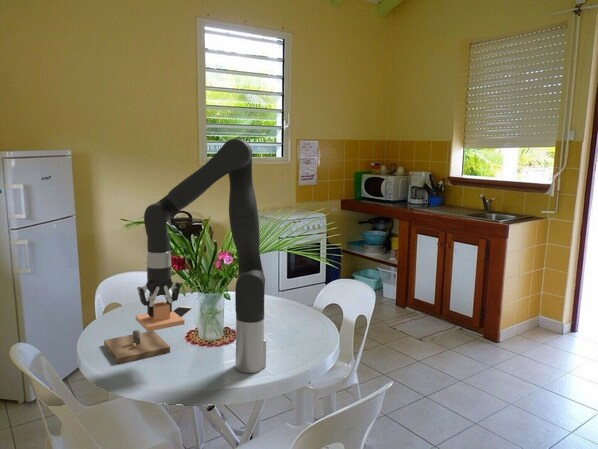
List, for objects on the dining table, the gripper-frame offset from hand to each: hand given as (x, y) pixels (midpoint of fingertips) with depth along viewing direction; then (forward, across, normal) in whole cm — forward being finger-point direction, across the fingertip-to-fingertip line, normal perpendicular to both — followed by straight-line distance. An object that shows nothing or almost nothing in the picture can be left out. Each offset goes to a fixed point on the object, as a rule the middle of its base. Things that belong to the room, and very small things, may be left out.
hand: (159, 314), depth 155 cm
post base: (+17, -3, +17) cm, 25 cm away
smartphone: (+18, +24, +45) cm, 54 cm away
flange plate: (+2, 0, 0) cm, 2 cm away
